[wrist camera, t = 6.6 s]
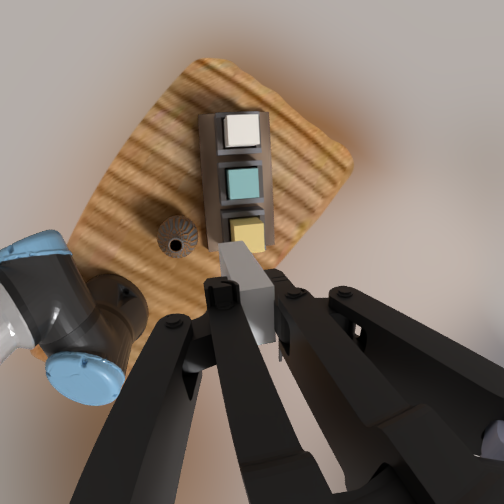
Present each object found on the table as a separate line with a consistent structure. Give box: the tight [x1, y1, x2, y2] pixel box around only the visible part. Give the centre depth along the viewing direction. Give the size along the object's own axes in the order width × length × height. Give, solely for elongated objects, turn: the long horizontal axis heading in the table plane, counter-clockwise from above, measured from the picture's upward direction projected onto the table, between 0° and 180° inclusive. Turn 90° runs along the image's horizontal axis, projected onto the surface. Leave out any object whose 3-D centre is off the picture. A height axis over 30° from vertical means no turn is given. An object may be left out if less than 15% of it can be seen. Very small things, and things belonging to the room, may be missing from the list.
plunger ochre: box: [230, 217, 265, 253], centre depth 44 cm, size 4×4×5 cm
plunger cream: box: [223, 114, 260, 147], centre depth 38 cm, size 4×4×5 cm
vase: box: [157, 215, 198, 258], centre depth 44 cm, size 7×7×9 cm
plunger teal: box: [225, 168, 259, 200], centre depth 43 cm, size 4×4×5 cm
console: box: [198, 111, 275, 252], centre depth 45 cm, size 12×24×6 cm, turn 2°
